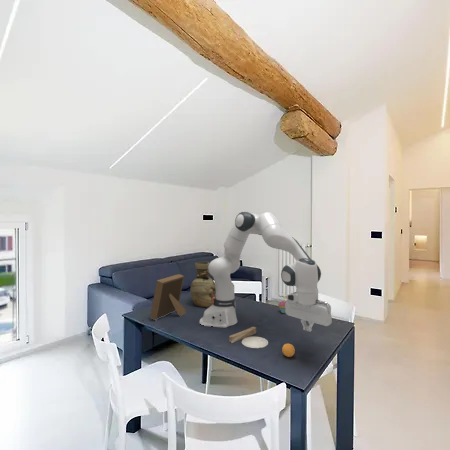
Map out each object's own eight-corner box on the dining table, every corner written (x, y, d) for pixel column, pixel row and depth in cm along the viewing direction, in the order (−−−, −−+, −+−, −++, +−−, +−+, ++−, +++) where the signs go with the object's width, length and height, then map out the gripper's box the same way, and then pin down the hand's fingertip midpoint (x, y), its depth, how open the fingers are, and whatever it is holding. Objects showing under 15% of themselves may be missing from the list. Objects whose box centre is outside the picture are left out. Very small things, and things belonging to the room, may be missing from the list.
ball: (283, 359, 126) (283, 346, 125) (281, 353, 131) (281, 341, 131) (295, 359, 125) (295, 346, 125) (293, 353, 131) (293, 341, 131)
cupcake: (276, 310, 192) (276, 292, 191) (289, 309, 192) (289, 292, 192) (280, 314, 183) (280, 295, 183) (293, 314, 184) (293, 295, 183)
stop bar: (256, 333, 154) (256, 327, 154) (232, 343, 142) (231, 337, 142) (253, 332, 156) (253, 326, 156) (229, 342, 144) (229, 336, 143)
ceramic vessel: (224, 305, 203) (223, 263, 202) (195, 310, 194) (194, 265, 194) (214, 299, 220) (213, 260, 220) (187, 302, 212) (186, 262, 211)
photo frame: (149, 320, 176) (149, 279, 175) (172, 309, 195) (172, 273, 194) (169, 324, 169) (168, 282, 168) (190, 313, 188) (190, 275, 188)
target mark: (241, 348, 137) (241, 347, 137) (241, 336, 150) (241, 336, 150) (269, 348, 136) (269, 347, 136) (266, 337, 149) (266, 336, 149)
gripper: (334, 301, 115) (334, 335, 115) (291, 292, 130) (291, 322, 130) (326, 304, 111) (326, 340, 111) (282, 294, 126) (283, 326, 126)
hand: (307, 330), depth 121 cm, fingers closed
